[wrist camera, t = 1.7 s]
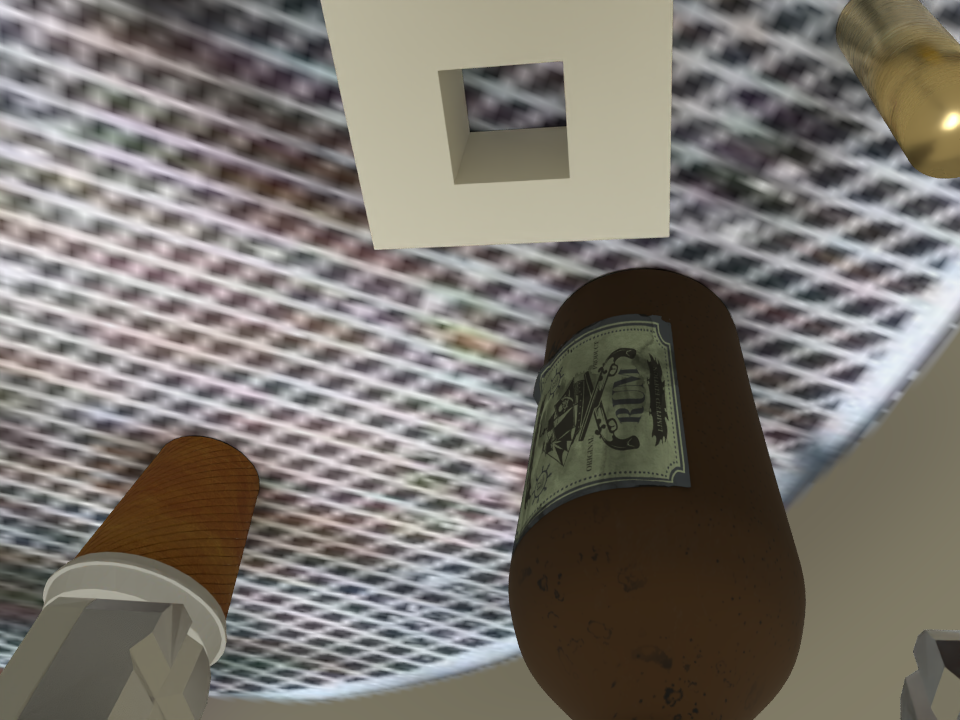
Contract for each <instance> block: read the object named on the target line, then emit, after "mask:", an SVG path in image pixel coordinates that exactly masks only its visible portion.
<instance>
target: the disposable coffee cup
mask: <svg viewBox="0 0 960 720" xmlns="http://www.w3.org/2000/svg"><path fill="white" fill-rule="evenodd" d="M258 492H259V478H258V474H257V472H256V470H255V468H254V466H253V465H252V464H251V463H250V462H249V460H248V459H247V458H246V457H245V456H244V455H243V454H241V453H240V452H239V451H237V450H236V449H234V448H233V447H231V446H229V445H227V444H225V443H223V442H220V441H217V440H214V439H211V438H206V437H196V436H188V437H181V438H178V439H175V440H173V441H171V442H169V443H168V444H166V445H165V446H164V447H163V448H162V450H161V451H160V452H159V454H158V455H157V456H156V457H155V459H154V460H153V461H152V462H151V464H150V465H149V466H148V467H147V469H146V470H145V471H144V472H143V474H142V475H141V476H140V477H139V479H138V480H137V481H136V482H135V484H134V485H133V486H132V487H131V489H130V490H129V491H128V492H127V493H126V495H125V496H124V497H123V498H122V500H121V501H120V502H119V504H118V505H117V506H116V507H115V509H114V510H113V511H112V512H111V513H110V515H109V516H108V517H107V519H106V520H105V521H104V522H103V524H102V525H101V526H100V527H99V528H98V530H97V531H96V532H95V534H94V535H93V536H92V537H91V538H90V540H89V541H88V542H87V543H86V545H85V546H84V547H83V548H82V550H81V551H80V552H79V554H78V555H77V556H76V557H75V559H74V560H72V561H70V562H68V563H67V564H66V565H65V566H63V567H61V568H60V569H59V570H58V571H56V572H55V573H54V574H53V575H52V576H51V577H50V578H49V579H48V581H47V583H46V586H45V588H44V593H43V600H44V606H43V609H44V608H45V606H47V605H48V604H50V603H51V602H52V601H54V600H55V599H56V598H58V597H76V598H99V599H113V600H129V601H145V602H161V603H177V604H184V606H185V608H186V610H187V612H188V614H189V616H190V618H191V620H192V624H191V626H190V629H189V631H188V633H187V634H188V635H189V636H190V637H192V638H193V639H194V640H196V641H197V642H198V643H200V644H201V645H203V647H204V649H205V651H206V654H207V656H208V658H209V665H210V666H211V665H212V664H214V663H216V662H217V660H218V659H219V658H220V657H221V655H222V654H223V652H224V649H225V646H226V642H227V635H226V617H227V613H228V610H229V606H230V602H231V598H232V594H233V590H234V586H235V582H236V578H237V574H238V570H239V566H240V562H241V559H242V555H243V551H244V547H245V543H246V539H247V535H248V531H249V527H250V523H251V519H252V515H253V511H254V507H255V503H256V499H257V496H258ZM43 609H42V610H43Z"/></svg>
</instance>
